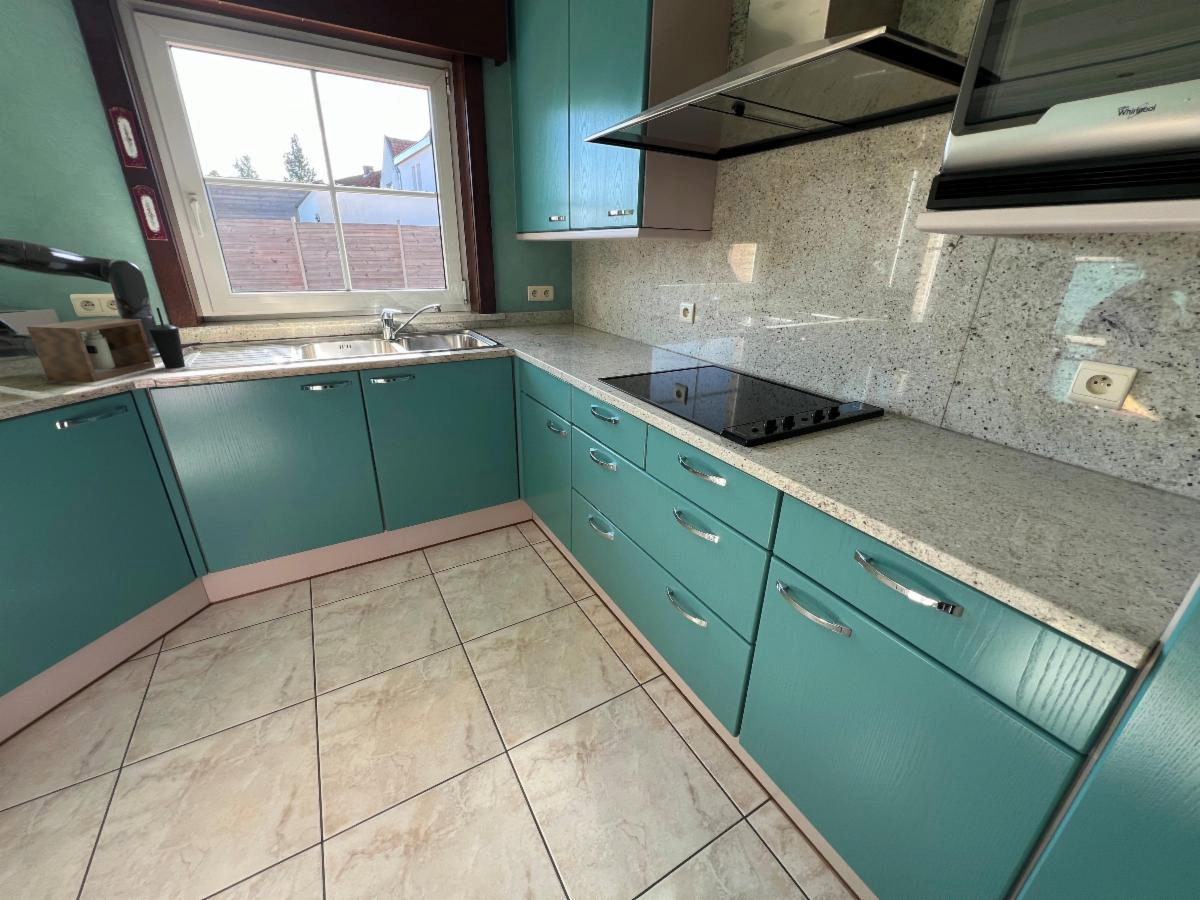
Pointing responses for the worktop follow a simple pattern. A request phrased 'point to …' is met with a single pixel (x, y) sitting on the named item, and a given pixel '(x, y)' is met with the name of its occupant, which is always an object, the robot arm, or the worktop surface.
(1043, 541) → the worktop surface
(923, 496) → the worktop surface
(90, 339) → the bottle
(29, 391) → the worktop surface
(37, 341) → the cabinet
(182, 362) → the drinking cup
